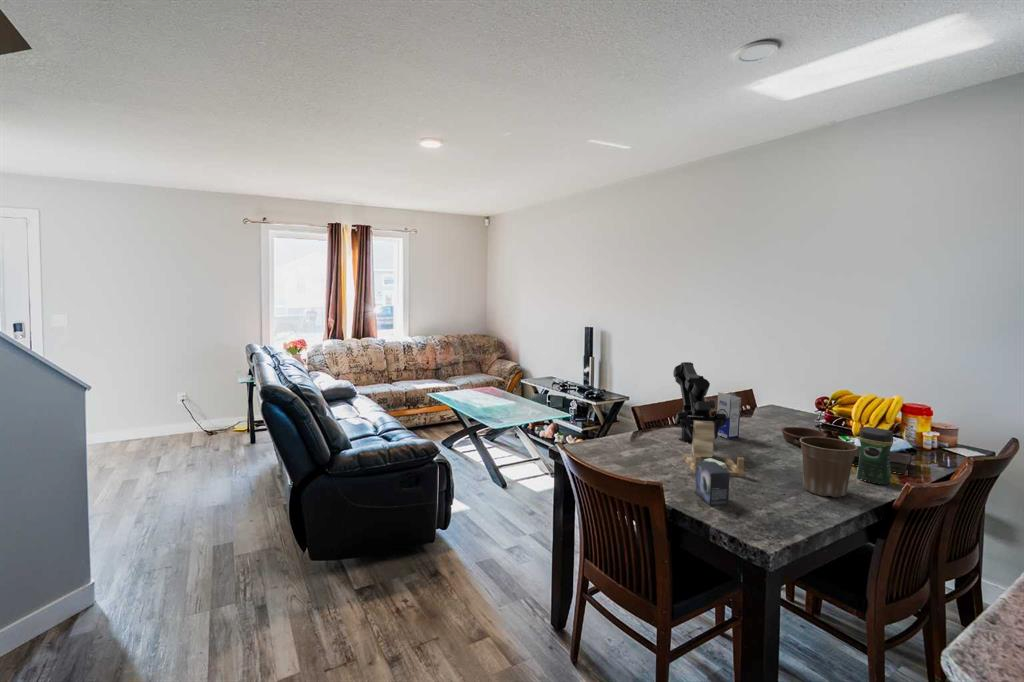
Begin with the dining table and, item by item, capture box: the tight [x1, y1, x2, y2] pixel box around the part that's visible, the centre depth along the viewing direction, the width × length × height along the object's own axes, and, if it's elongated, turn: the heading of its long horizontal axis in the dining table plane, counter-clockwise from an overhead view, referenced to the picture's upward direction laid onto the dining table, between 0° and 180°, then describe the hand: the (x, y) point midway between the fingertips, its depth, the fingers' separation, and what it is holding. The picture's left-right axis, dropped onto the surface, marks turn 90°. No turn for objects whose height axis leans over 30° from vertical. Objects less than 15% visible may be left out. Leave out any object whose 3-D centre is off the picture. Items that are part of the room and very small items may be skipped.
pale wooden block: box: [691, 421, 715, 458], centre depth 206 cm, size 4×7×14 cm, turn 85°
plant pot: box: [800, 437, 858, 498], centre depth 172 cm, size 16×16×16 cm
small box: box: [695, 461, 731, 507], centre depth 165 cm, size 11×6×10 cm, turn 5°
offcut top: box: [702, 457, 727, 469], centre depth 190 cm, size 4×7×2 cm, turn 28°
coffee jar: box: [856, 425, 894, 485], centre depth 183 cm, size 10×8×19 cm
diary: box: [852, 445, 912, 474], centre depth 203 cm, size 19×25×5 cm
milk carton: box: [716, 391, 742, 440], centre depth 236 cm, size 7×7×20 cm
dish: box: [780, 426, 827, 447], centre depth 230 cm, size 17×22×5 cm
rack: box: [684, 454, 745, 478], centre depth 192 cm, size 17×16×7 cm
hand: (703, 437), depth 205 cm, fingers open, 9 cm apart
